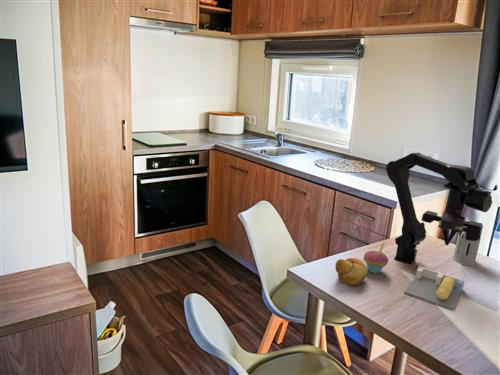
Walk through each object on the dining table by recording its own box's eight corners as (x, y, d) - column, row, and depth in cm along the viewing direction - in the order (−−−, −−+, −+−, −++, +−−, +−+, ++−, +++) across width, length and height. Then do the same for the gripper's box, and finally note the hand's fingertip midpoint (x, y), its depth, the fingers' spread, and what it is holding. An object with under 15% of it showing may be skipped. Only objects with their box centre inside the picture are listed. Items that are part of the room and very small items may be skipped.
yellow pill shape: (446, 303, 133) (448, 293, 132) (434, 299, 135) (436, 289, 134) (454, 287, 144) (456, 277, 143) (443, 283, 146) (444, 274, 145)
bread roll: (347, 268, 153) (350, 248, 151) (372, 277, 148) (376, 256, 145) (330, 280, 143) (333, 259, 141) (357, 291, 138) (361, 269, 135)
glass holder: (479, 261, 168) (488, 226, 163) (465, 271, 158) (474, 233, 154) (456, 253, 174) (464, 219, 169) (442, 262, 164) (450, 226, 160)
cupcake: (390, 271, 153) (395, 240, 150) (379, 278, 147) (384, 246, 144) (368, 262, 159) (373, 232, 156) (357, 269, 153) (362, 238, 149)
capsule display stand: (404, 293, 138) (405, 283, 137) (417, 275, 152) (419, 265, 151) (453, 310, 130) (455, 300, 129) (462, 289, 144) (465, 280, 143)
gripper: (421, 201, 144) (413, 244, 148) (483, 215, 134) (472, 260, 138) (429, 195, 153) (421, 235, 157) (487, 207, 143) (477, 250, 147)
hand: (446, 245), depth 149 cm, fingers closed
